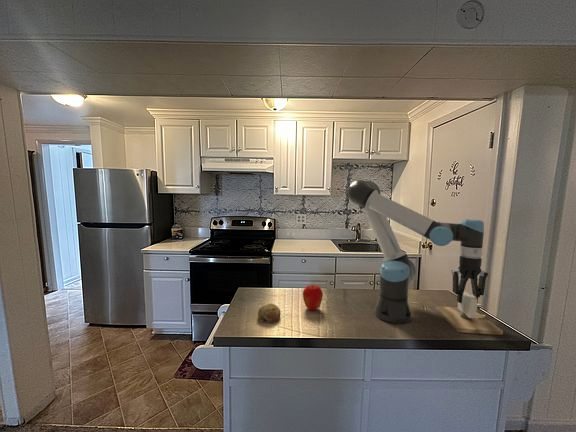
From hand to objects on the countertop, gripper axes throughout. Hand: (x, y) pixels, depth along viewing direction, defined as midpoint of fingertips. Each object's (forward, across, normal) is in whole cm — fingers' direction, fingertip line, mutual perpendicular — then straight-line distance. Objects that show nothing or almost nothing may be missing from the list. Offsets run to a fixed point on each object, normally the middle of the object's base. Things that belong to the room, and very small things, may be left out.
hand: (466, 310), depth 109 cm
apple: (+5, -66, +3) cm, 66 cm away
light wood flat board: (+5, 0, 0) cm, 5 cm away
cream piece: (+3, +3, 0) cm, 4 cm away
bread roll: (+5, -84, -8) cm, 85 cm away
